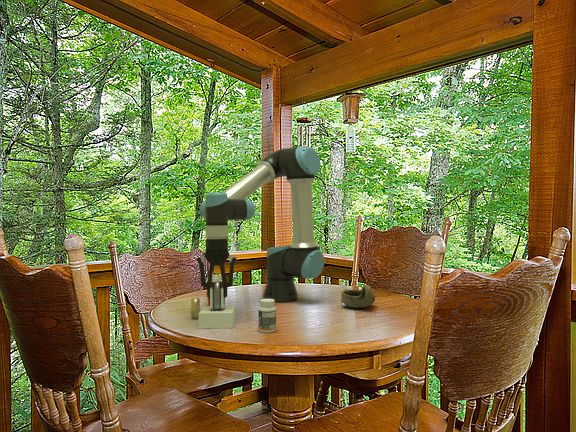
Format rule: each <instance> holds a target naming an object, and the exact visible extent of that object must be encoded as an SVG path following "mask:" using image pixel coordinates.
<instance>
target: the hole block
mask: <svg viewBox="0 0 576 432" xmlns="http://www.w3.org/2000/svg"><path fill="white" fill-rule="evenodd" d="M235 322H236V306H235V305H225V306H224V307H223V308H222V311H213V308H210V306H208V305H206V306H203V307H202V308H200V312H199V319H198V329H200V330H201V328H211V329H233V328H234V324H235Z"/></svg>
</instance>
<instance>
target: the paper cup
mask: <svg viewBox="0 0 576 432" xmlns="http://www.w3.org/2000/svg"><path fill="white" fill-rule="evenodd" d="M207 281H208V276H207V278H206V282H207ZM215 281H221V282H222V276H221V275H213V277H212V284H211V285H212V286H211V287H213V282H215ZM222 287H223V283H222ZM207 303H208V305H207V306H210V298H208V297H207ZM225 304H226V297H224V306H226V305H225Z"/></svg>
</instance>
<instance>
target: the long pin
mask: <svg viewBox="0 0 576 432" xmlns="http://www.w3.org/2000/svg"><path fill="white" fill-rule="evenodd" d="M221 288H222V282H221V281H215V282H213V311H222V308H221Z"/></svg>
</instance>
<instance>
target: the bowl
mask: <svg viewBox="0 0 576 432" xmlns="http://www.w3.org/2000/svg"><path fill="white" fill-rule="evenodd" d="M340 293H341V294H340V295H341V298H340V302H341V303H343V304H344V305H346V306H347V307H349V308H354V309H365V308H368V307H370V306H371V305H373V304H374V303H375V301H376V299H375V298H376V294H375V292H373V290H372V287H371V286H370V285H363V286H362V289H353V288H352V289H343V290H342V291H340Z"/></svg>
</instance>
